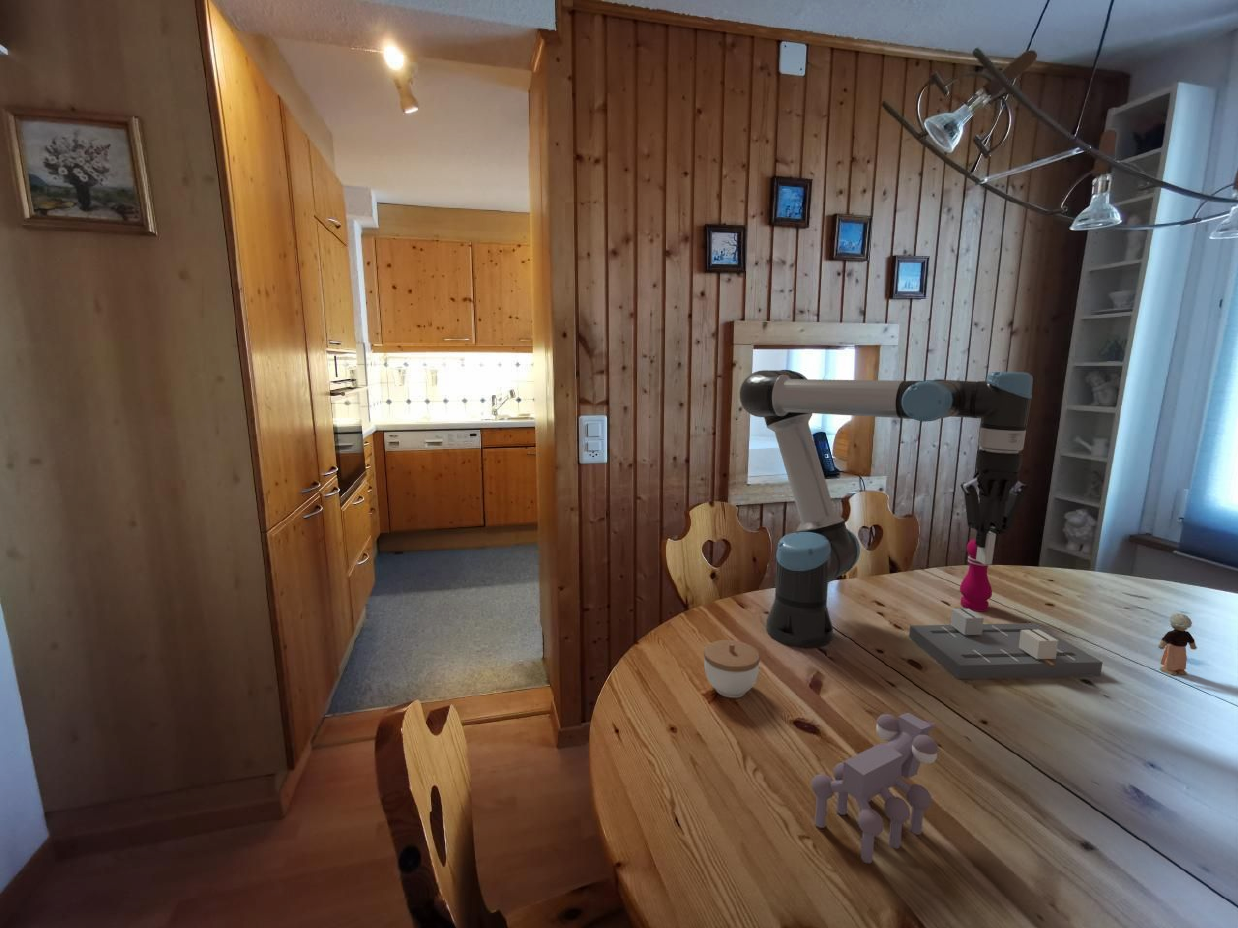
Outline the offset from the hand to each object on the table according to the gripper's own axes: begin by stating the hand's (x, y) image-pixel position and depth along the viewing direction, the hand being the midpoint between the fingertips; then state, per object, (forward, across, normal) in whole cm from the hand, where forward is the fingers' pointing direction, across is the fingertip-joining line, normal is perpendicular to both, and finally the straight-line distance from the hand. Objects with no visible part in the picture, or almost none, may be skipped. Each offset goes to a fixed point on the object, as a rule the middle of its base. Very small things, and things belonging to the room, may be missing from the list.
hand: (983, 561), depth 116 cm
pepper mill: (+23, +20, +28) cm, 41 cm away
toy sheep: (+23, -40, -41) cm, 61 cm away
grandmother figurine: (+22, +39, -6) cm, 45 cm away
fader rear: (+19, +4, +8) cm, 21 cm away
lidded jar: (+24, -54, -8) cm, 59 cm away
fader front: (+19, +12, -3) cm, 23 cm away
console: (+23, +8, +2) cm, 24 cm away
